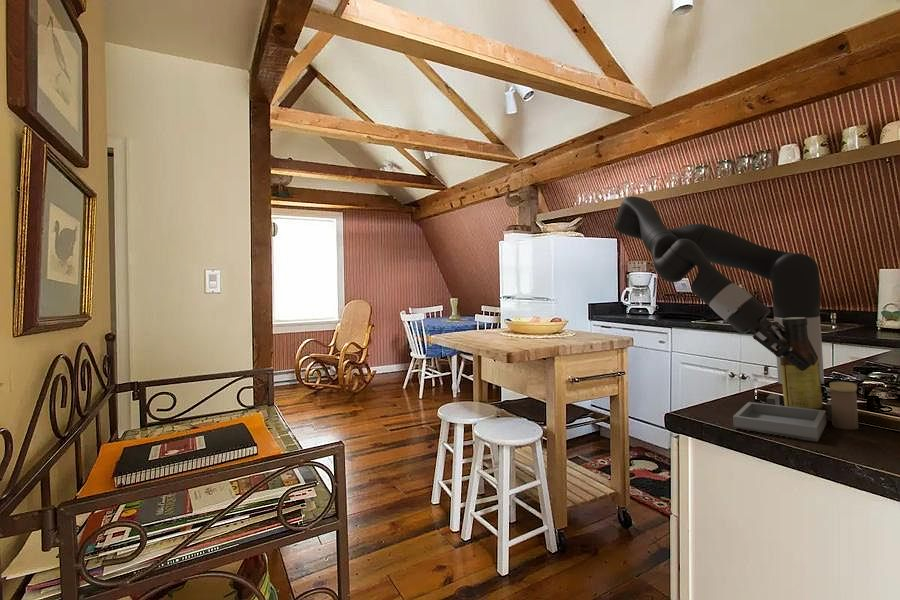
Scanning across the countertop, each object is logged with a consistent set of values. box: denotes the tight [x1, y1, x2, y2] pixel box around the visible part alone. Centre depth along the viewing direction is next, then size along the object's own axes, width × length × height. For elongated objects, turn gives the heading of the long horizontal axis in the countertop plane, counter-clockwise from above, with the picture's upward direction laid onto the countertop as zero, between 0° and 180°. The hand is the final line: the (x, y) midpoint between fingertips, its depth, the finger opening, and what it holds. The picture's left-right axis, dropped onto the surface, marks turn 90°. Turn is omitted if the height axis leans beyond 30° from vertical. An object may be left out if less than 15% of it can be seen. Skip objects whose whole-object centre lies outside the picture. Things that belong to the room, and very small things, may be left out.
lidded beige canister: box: [828, 381, 859, 431], centre depth 82 cm, size 4×4×8 cm
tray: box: [732, 401, 828, 443], centre depth 85 cm, size 12×13×2 cm
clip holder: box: [765, 393, 832, 422], centre depth 91 cm, size 5×13×3 cm, turn 44°
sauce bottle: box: [780, 317, 824, 410], centre depth 90 cm, size 6×6×20 cm
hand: (809, 364), depth 89 cm, fingers closed on sauce bottle, 6 cm apart
